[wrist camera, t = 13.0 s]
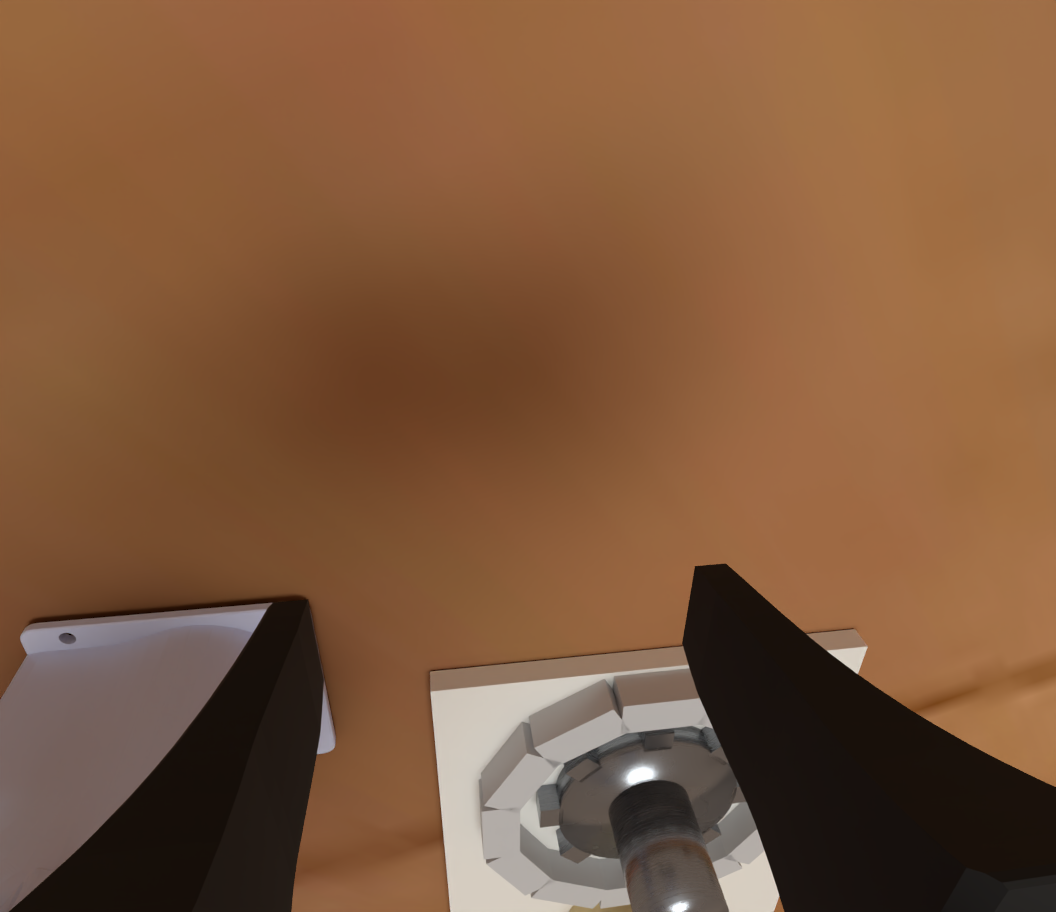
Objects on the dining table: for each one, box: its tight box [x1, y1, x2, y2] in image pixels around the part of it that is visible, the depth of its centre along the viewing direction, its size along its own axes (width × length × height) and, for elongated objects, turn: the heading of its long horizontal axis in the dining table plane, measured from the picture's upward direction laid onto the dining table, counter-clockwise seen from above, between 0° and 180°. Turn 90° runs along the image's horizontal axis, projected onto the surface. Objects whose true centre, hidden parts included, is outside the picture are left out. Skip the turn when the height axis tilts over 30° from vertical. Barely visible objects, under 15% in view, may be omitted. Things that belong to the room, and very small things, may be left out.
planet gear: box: [536, 726, 746, 912], centre depth 30 cm, size 10×10×6 cm
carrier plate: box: [430, 629, 868, 912], centre depth 34 cm, size 18×23×4 cm
